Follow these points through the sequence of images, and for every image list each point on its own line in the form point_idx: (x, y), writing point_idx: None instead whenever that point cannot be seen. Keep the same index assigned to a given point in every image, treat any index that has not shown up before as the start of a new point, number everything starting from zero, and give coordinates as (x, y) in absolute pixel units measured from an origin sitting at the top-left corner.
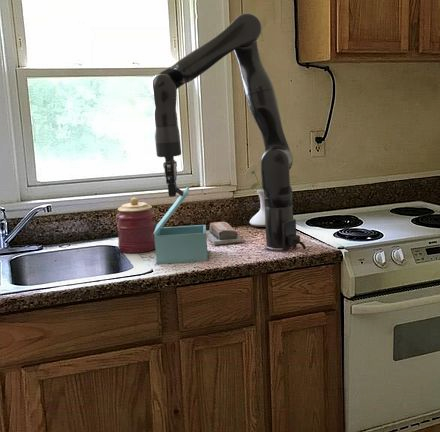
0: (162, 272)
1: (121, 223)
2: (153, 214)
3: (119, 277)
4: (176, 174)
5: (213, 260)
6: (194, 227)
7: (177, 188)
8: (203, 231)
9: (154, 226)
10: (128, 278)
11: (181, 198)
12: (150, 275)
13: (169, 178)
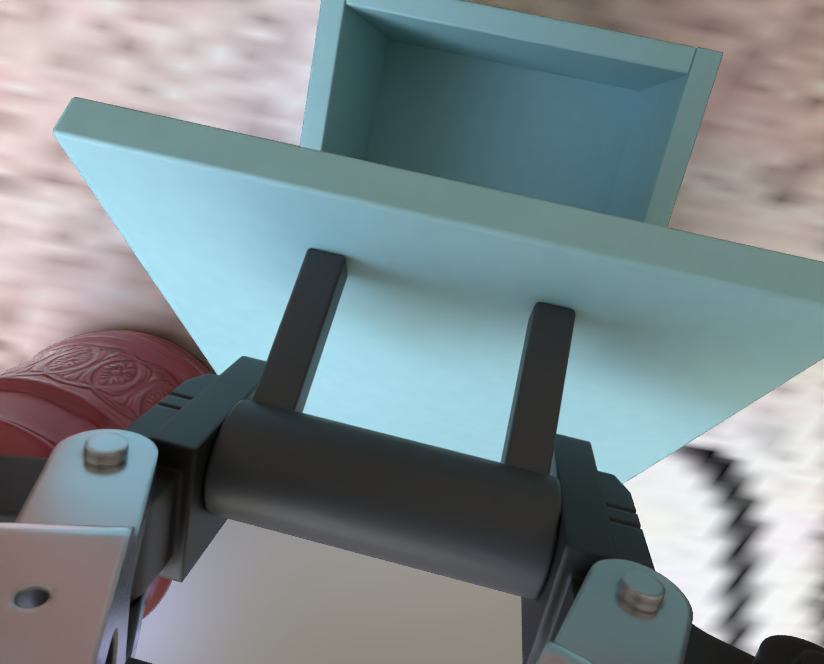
0: (775, 407)
1: None
2: (26, 437)
3: (731, 621)
4: (133, 536)
5: (676, 31)
6: (332, 98)
7: (305, 383)
8: (630, 58)
9: (89, 393)
10: (782, 587)
11: (788, 378)
12: (797, 478)
13: (139, 626)
